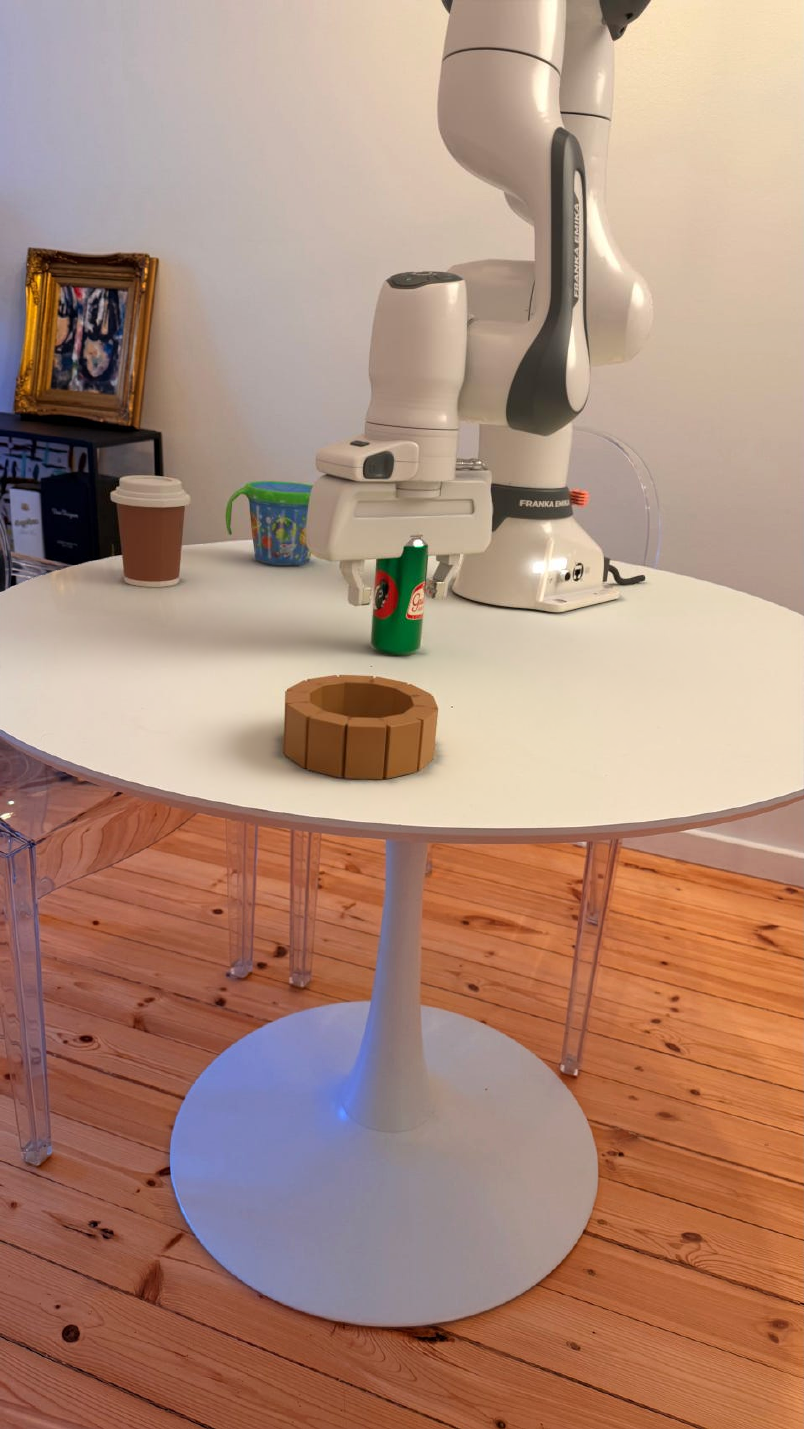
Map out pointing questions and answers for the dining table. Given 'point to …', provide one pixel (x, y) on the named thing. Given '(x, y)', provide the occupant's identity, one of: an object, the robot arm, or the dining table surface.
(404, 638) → the soda can
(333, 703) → the brown segmented block ring
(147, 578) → the coffee cup
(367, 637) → the dining table surface
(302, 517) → the snack cup
